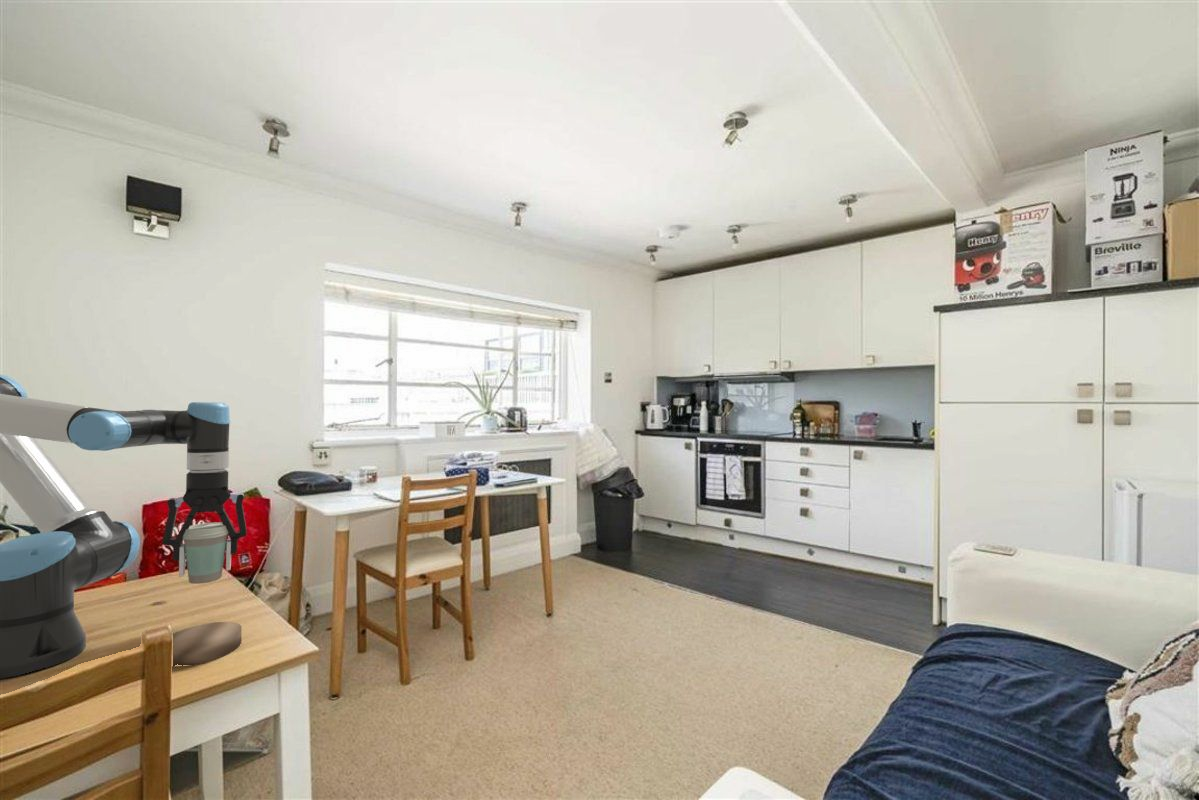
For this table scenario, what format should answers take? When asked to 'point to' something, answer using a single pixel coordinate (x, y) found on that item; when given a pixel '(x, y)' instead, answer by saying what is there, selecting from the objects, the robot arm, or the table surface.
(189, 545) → the coffee cup
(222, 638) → the walnut stand
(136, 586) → the table surface
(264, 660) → the table surface
